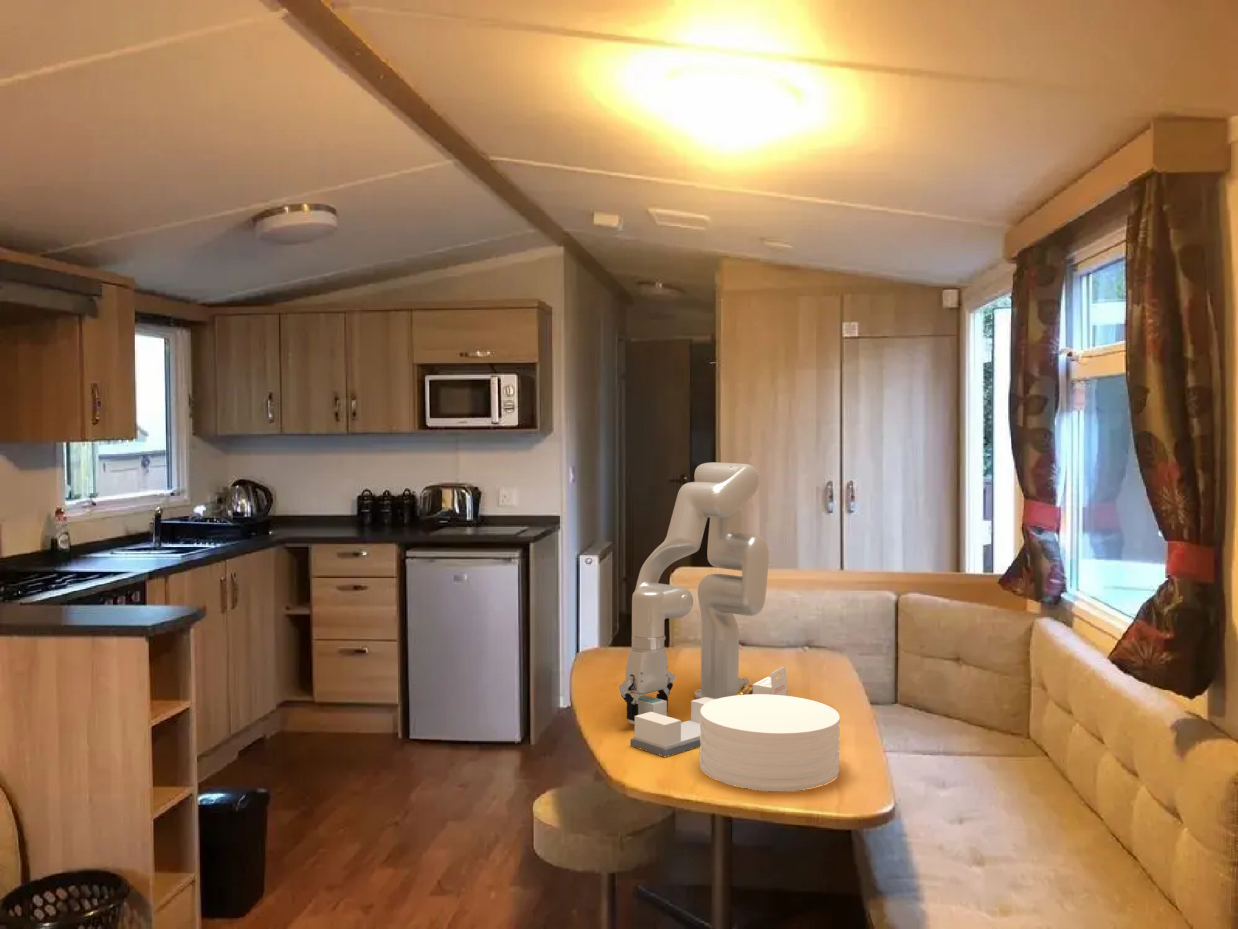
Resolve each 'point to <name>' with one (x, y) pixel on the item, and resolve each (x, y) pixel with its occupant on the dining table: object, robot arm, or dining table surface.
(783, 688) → the ink cartridge box
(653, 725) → the rail board
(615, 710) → the dining table surface
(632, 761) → the dining table surface
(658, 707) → the block
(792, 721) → the plate stack
